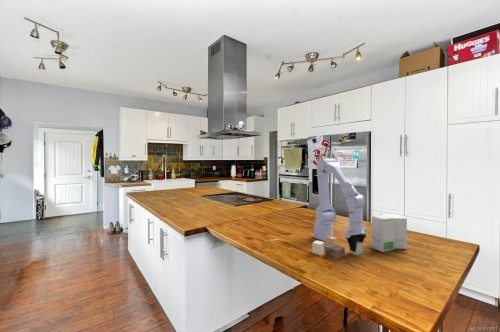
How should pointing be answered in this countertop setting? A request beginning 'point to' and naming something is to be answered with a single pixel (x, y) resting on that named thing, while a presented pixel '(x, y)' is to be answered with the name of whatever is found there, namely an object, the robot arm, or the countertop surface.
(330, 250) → the walnut block
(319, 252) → the cream block
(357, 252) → the sage block
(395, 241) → the supplement box
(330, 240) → the terracotta cylinder
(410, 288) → the countertop surface
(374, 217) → the skincare box
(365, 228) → the robot arm
